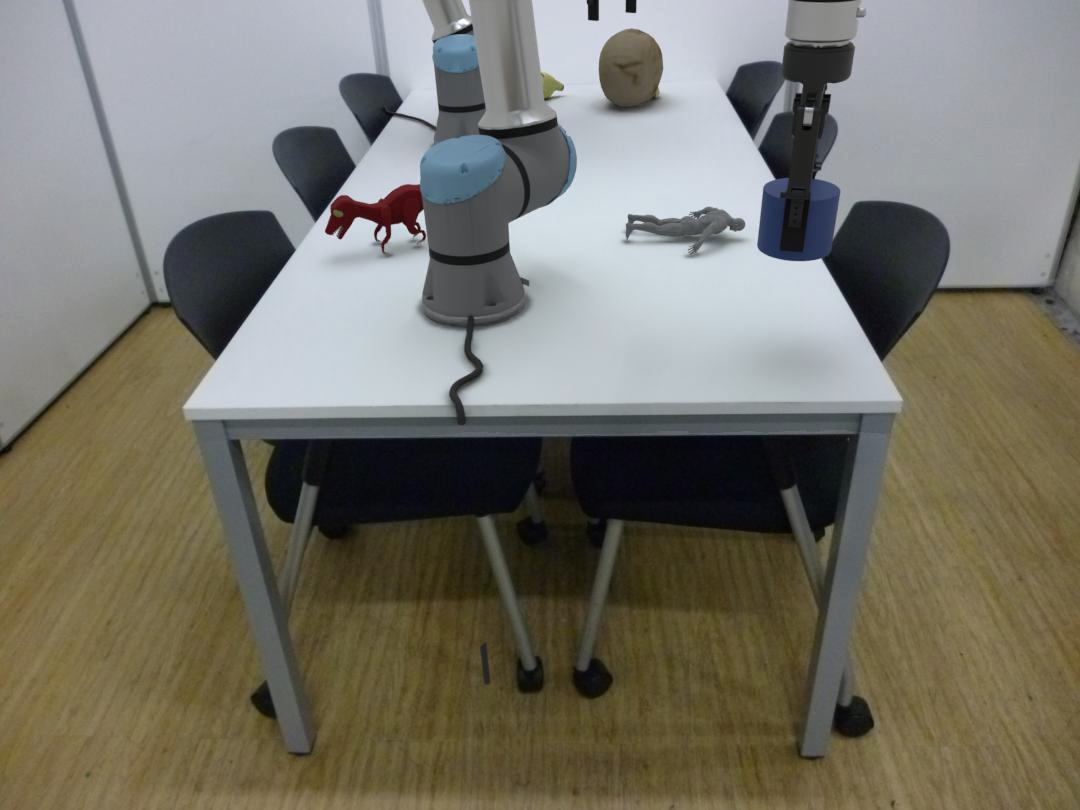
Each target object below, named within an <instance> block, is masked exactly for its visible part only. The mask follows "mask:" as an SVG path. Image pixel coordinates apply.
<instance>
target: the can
mask: <svg viewBox="0 0 1080 810" xmlns="http://www.w3.org/2000/svg"><path fill="white" fill-rule="evenodd" d="M788 180H789V177H782V178H778V179H773V180H770V181H767V182H766V183H765V184H764V185H763V187H762V195H761V206H760V215H759V225H758V234H757V243H756V246H757V249H758V251H759V252H760V253H762V254H764V255H765V256H768V257H770V258H773V259H777V260H781V261H788V262H812V261H817V260H821V259H823V258H826V257H827V256H829V255H830V253H832V249H833V241H834V235H835V228H836V222H837V217H838V216H837V215H838V209H839V204H840V198H841V197H840V196H841V189H840V187H839V186H837V184H834V183H832V182H830V181H826V180H822V179H820V178H819V179H818V178H815V179H813V178H812V181H811V188H810V192H811V196H810V197H811V198H810V205H809V212H808V219H807V227H806V234H805V241H804V249H803V252H793V251H781V250H780V242H781V234H782V226H783V218H784V209H785V201H786V199H783V198H780V194H781V192H786V190H787V188H788ZM793 188H803V187H793Z"/></svg>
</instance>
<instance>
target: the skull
mask: <svg viewBox="0 0 1080 810" xmlns="http://www.w3.org/2000/svg"><path fill="white" fill-rule="evenodd" d="M663 61H664V60H663V53H662V49H661V47H660V45H659V43H658V42H657V41H656V39H655V38H654V37H653V36H652V35H650V34H649V33H647V32H646V31H643V30H640V29H638V28H632V27H631V28H625V29H623V30H621V31H620V30H619V31H618V32H617V33H615V34H613V35H612V36H610V37H609V38H608V39H607V40H606V42H605V43H604V44H603V46H602V48H601V50H600V54H599V58H598V79H599V83H600V89H601V90H602V92H603V95H604V96H605V98H606V99H607V100H608V101H609V102H610V103H612V104H614V105H616V106H619V107H623V108H631V107H635V106H638V105H641V104H643V103H647V102H648V101H650V100H652V98H654V99H658V98H659V96H660V89H659V85H660V82H661V80H662V76H663V73H664V62H663Z"/></svg>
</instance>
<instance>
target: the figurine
mask: <svg viewBox="0 0 1080 810" xmlns="http://www.w3.org/2000/svg"><path fill="white" fill-rule="evenodd" d="M636 222H640V223H636ZM728 227H729V231H733V232H735V233H736V232H741V231H743V230H744V229H745V227H746V221H745V220H744V219H743V218H742V217H737V218H734V217H732V216H731V215H730V214H729V212H727V211H726V210H724V209H721V208H720V209H718V208H717V207H713V206H705V207H704V208H703V209H700V210H697V211H690V212H689V214H688V215H684V216H683V217H682V218H678V217H669V218H662V219H660V218H659V217H657V216H655V215H653V214H644V215H642V214H641V215H640V214H633V213H632V214H631V213H628V214H627V222H626V223H625V240H626V241H628V240H629V237H630V235H631V234H632V232H633V231H641V232H644V233H645V232H646V233H649V234H654V235H656V236H657V235H658V236H664V237H683V236H700V238H699V240H698V241H696V242H694V243H693V244H692V245H688V249H687V251H688V254H689V255H690V256H692V255H693V254H694V253H695V254H696V253H697V252H698V251H699V250H700V249H701V247H702V246H703V244H704V243H705V242H706V241H708V240H709V239H710V238H711V237H712V236H713V235H715V236H716V235H719V234H721V233H723V232H724V231H725V230H726V229H727V228H728Z"/></svg>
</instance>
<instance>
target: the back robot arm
mask: <svg viewBox="0 0 1080 810" xmlns="http://www.w3.org/2000/svg"><path fill="white" fill-rule="evenodd" d="M421 1H422V4H423V6H424V9H425V10H426V13H427V16H428V18H429V20H430V22H431V25H432V27H433V33H432V36H431V41H432V44H433V45H432V55H431V56H432V59H431V60H432V62H433V69H434V79H435V87H436V88H435V89H436V98H437V107H438V116H437V120H436V126H435V125H434V124H433V123H430V122H428V121H427V120H425V119H422V118H420V117H416V116H413V115H408V114H405V113H400V112H395V111H391V110H389V109H388V107H387V105H386V104H384V105H383V107H382V111H385V112H386V113H387V114H389V115H392V116H396V117H401V118H405V119H409V120H414V121H417V122H420V123H422V124H425V125H426V126H428V127H429V128H430V129H433V130H435V133H434V136H433V146H434V145H436V144H438V143H440V142H442V141H445V140H448V139H451V138H460V137H461V136H466V135H480V134H479V128H478V123H479V121H480V120H481V118H482V117H483V115H484V114H485V111H486V106H485V100H484V94H483V87H482V81H481V75H480V68H479V62H478V56H477V49H476V43H475V37H474V30H473V24H472V18H471V15H469V14H468V12H467V11H466V7H465V5H464V2H463V0H421ZM637 4H638V3H637V0H625V14H626V13H627V14H637ZM586 5H587V21H594V22H599V21H600V0H586Z"/></svg>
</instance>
